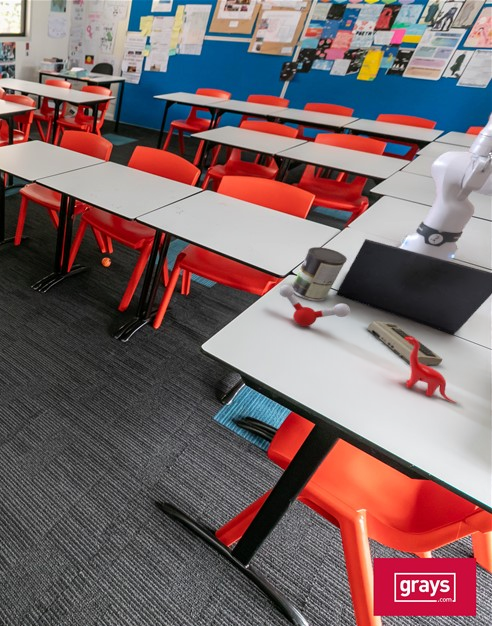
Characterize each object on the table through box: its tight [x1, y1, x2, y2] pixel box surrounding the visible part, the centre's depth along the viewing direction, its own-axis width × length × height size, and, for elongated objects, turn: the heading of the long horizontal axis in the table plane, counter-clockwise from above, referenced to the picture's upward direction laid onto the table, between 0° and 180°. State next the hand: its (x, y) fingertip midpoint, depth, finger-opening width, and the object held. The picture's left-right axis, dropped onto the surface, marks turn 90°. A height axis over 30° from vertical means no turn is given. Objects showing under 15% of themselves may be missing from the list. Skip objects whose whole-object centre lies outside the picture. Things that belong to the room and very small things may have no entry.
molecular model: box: [278, 284, 351, 327], centre depth 120 cm, size 18×6×10 cm, turn 46°
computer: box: [367, 320, 444, 366], centre depth 115 cm, size 16×8×3 cm, turn 4°
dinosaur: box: [405, 336, 457, 404], centre depth 98 cm, size 4×15×12 cm, turn 50°
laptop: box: [335, 291, 457, 336], centre depth 135 cm, size 21×30×2 cm
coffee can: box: [291, 246, 348, 302], centre depth 134 cm, size 10×10×14 cm
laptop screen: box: [337, 238, 492, 333], centre depth 120 cm, size 21×30×1 cm
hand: (460, 199), depth 119 cm, fingers closed
